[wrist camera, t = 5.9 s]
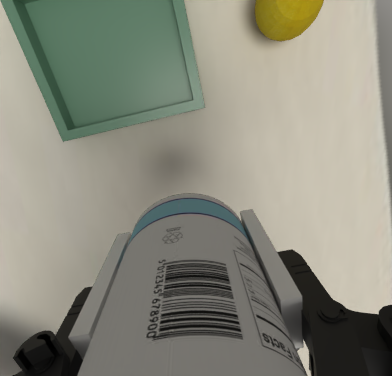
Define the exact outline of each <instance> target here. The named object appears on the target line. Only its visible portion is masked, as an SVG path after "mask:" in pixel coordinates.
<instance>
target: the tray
mask: <svg viewBox="0 0 392 376" xmlns="http://www.w3.org/2000/svg"><path fill="white" fill-rule="evenodd" d="M1 3H2V5H3V7H4V9H5V12H6V14H7V16H8V18H9V21H10V23H11V25H12V27H13V30H14V32H15V34H16V36H17V39H18V41H19V43H20V46H21V48H22V50H23V52H24V55H25V57H26V59H27V61H28V64H29V66H30V68H31V70H32V73H33V75H34V77H35V79H36V82H37V84H38V86H39V88H40V91H41V93H42V95H43V98H44V100H45V102H46V104H47V107H48V109H49V111H50V113H51V116H52V118H53V120H54V122H55V125H56V127H57V129H58V131H59V134H60V136H61V138H62V140H63V142H64V141H68V140H72V139H76V138H80V137H84V136H89V135H93V134H97V133H101V132H105V131H110V130H114V129H118V128H122V127H126V126H130V125H135V124H139V123H143V122H147V121H151V120H156V119H160V118H164V117H168V116H172V115H176V114H181V113H185V112H189V111H193V110H197V109H202V108H205V105H204V100H203V95H202V90H201V85H200V80H199V75H198V70H197V65H196V60H195V55H194V50H193V45H192V40H191V35H190V29H189V24H188V19H187V14H186V9H185V4H184V0H1Z"/></svg>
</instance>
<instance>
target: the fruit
mask: <svg viewBox="0 0 392 376" xmlns="http://www.w3.org/2000/svg"><path fill="white" fill-rule="evenodd" d="M323 1H324V0H256V4H255V17H256V22H257V25H258V27H259V29H260V31H261V32H262V33H263V34H264V35H265V36H266V37H268V38H270V39H271V40H277V41H285V40H290V39H293V38H295V37H297V36H299V35H301V34H302V33H303V32H304V31H305V30H306V29H307V28H308V27H309V26H310V25H311V24H312V23H313V21H314V20H315V19H316V17H317V15H318V13H319V11H320V9H321V7H322V4H323Z"/></svg>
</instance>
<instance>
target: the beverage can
mask: <svg viewBox="0 0 392 376" xmlns="http://www.w3.org/2000/svg"><path fill="white" fill-rule="evenodd" d="M77 376H307V374H306V371H305V369H304V367H303V364H302V362H301V360H300V357H299V355H298V353H297V350H296V348H295V346H294V343H293V341H292V339H291V336H290V334H289V332H288V329H287V327H286V325H285V323H284V320H283V318H282V316H281V313H280V311H279V309H278V306H277V304H276V302H275V299H274V297H273V295H272V292H271V290H270V288H269V285H268V283H267V281H266V278H265V276H264V274H263V271H262V269H261V267H260V264H259V262H258V260H257V257H256V255H255V253H254V251H253V248H252V246H251V244H250V241H249V239H248V237H247V234H246V232H245V230H244V227H243V225H242V223H241V221H240V219H239V218H238V216H237V215H236V213H235V212H234V211H233V210H232V209H231V208H230V207H228V206H227V205H226V204H224V203H223V202H221V201H219V200H217V199H215V198H212V197H210V196H206V195H202V194H193V193H187V194H178V195H173V196H170V197H167V198H164V199H162V200H160V201H158V202H156V203H155V204H153V205H152V206H150V207H149V208H148V209H147V210H146V211H145V212H144V213H143V214H142V215H141V217H140V218H139V220H138V221H137V223H136V225H135V228H134V230H133V233H132V235H131V238H130V241H129V243H128V246H127V248H126V251H125V254H124V256H123V259H122V261H121V264H120V266H119V269H118V272H117V274H116V277H115V279H114V282H113V285H112V287H111V290H110V292H109V295H108V298H107V300H106V303H105V305H104V308H103V310H102V313H101V316H100V318H99V321H98V323H97V326H96V329H95V331H94V334H93V336H92V339H91V342H90V344H89V347H88V349H87V352H86V355H85V357H84V360H83V362H82V365H81V367H80V370H79V373H78V375H77Z"/></svg>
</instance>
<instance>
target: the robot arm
mask: <svg viewBox="0 0 392 376" xmlns="http://www.w3.org/2000/svg"><path fill="white" fill-rule="evenodd" d="M240 215H241V222H242V225H243V227H244V230H245V232H246V234H247V237H248V239H249V241H250V244H251V246H252V248H253V251H254V253H255V255H256V257H257V260H258V262H259V264H260V267H261V269H262V271H263V274H264V276H265V278H266V281H267V283H268V285H269V288H270V290H271V292H272V295H273V297H274V299H275V302H276V304H277V306H278V309H279V311H280V313H281V316H282V318H283V320H284V323H285V325H286V327H287V329H288V332H289V334H290V336H291V339H292V341H293V343H294V346H295V348H296V349H297V348H303V339H304V341H305V343H306V345H307V347H308V349H309V370H311V376H392V305H388V306H384V307H383V308H382V309H381V310H380V311H379V315H378V314H370V313H361V312H355V311H351V310H349V309H346V308H345V307H344V306H343V305H342V304H340V303H338V302H337V301H335V300H333V299H332V298H331V297H330V295H329V294H328V293H327V291H326V290H325V288H324V287H323V286H322V284H321V283H320V281H319V280H318V279H317V277H316V276H315V274H314V273H313V272H312V271H311V269H310V267H309V266H308V265H307V263H306V262H305V260H304V259H303V257H302V256H301V255H300V254H298V253H297V252H295V251H294V250H286V251H281V252H277V251H276V250H275V248H274V246H273V244H272V243H271V241H270V239H269V237H268V236H267V234H266V232H265V230H264V229H263V227H262V225H261V223H260V222H259V220H258V218H257V216H256V215H255V213H254V211H253V209H250V210H245V211H240ZM130 238H131V234H130V232H129V233H124V234H118V235H117V238H116V240H115V242H114V244H113V246H112V248H111V250H110V252H109V254H108V256H107V258H106V260H105V262H104V264H103V266H102V269H101V271H100V273H99V275H98V277H97V279H96V281H95V283H94V285H93V287H87V288H84V289H83V290H82V291H81V293H80V294H79V295H78V296H77V297H76V299H75V301H74V302H73V304H72V306H71V308H70V310H69V312H68V314H67V316H66V317H65V319H64V321H63V323H62V325H61V327H60V328H59V330H58V332H57V334H56V336H55V335H54V333H53V332H51V331H42V332H39V333H37V334H35V335H34V336H32V337H30V338H29V339H28V340H27V341H25V342H24V343H23V344H22V345H21V346H20V348H19V349H18V350H17V351H16V353H15V355H14V357H13V359H14V360H15V361H16V363H17V364H18V365H19V367H20V368H21V369H22V371H21V372H19V373H17V374H15V375H13V376H77V375H78V373H79V370H80V367H81V365H82V362H83V360H84V357H85V355H86V352H87V349H88V347H89V344H90V342H91V339H92V336H93V334H94V331H95V329H96V326H97V323H98V321H99V318H100V316H101V313H102V310H103V308H104V305H105V303H106V300H107V298H108V295H109V292H110V290H111V287H112V285H113V282H114V279H115V277H116V274H117V272H118V269H119V266H120V264H121V261H122V259H123V256H124V254H125V251H126V248H127V246H128V243H129V241H130Z"/></svg>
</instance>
